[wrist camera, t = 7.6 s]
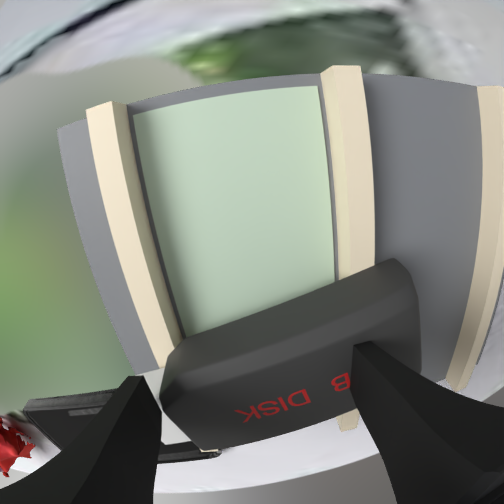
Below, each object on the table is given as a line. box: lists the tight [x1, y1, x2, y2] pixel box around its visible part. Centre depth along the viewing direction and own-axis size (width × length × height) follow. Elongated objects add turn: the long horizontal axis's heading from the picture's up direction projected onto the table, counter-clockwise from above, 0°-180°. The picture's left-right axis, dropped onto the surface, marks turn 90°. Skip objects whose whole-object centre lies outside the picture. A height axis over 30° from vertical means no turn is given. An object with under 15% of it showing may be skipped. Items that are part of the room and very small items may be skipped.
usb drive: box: [135, 258, 422, 451], centre depth 11 cm, size 5×12×3 cm, turn 112°
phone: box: [23, 388, 222, 464], centre depth 17 cm, size 8×1×15 cm
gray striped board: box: [57, 66, 504, 452], centre depth 13 cm, size 22×18×2 cm
